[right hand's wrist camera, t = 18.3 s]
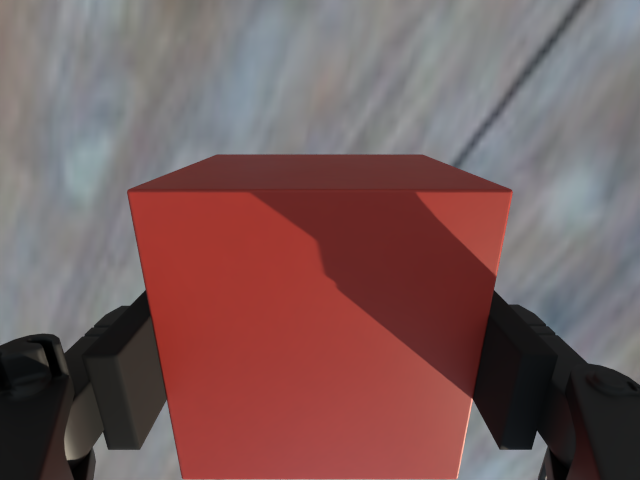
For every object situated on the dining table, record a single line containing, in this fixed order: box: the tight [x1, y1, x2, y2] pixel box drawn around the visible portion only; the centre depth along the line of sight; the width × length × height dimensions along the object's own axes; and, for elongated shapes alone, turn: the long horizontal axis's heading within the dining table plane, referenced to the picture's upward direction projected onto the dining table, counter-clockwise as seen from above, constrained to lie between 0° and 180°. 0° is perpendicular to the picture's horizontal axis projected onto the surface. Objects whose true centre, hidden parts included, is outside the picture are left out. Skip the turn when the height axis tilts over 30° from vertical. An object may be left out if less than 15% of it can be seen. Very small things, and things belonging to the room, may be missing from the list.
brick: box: [127, 155, 513, 479], centre depth 12 cm, size 9×9×7 cm
